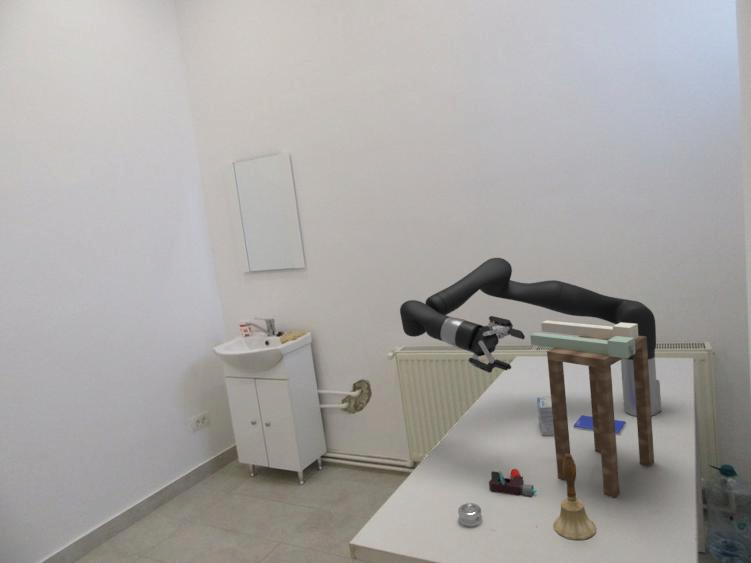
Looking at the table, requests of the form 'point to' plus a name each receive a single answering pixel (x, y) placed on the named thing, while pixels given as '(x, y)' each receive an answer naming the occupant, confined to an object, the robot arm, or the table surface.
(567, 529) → the hand bell
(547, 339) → the sage stick
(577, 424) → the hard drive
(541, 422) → the medicine box
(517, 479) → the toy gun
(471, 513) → the metal grooved wheel
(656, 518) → the table surface
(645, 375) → the walnut stand
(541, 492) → the table surface
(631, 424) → the table surface
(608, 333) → the cream stick
